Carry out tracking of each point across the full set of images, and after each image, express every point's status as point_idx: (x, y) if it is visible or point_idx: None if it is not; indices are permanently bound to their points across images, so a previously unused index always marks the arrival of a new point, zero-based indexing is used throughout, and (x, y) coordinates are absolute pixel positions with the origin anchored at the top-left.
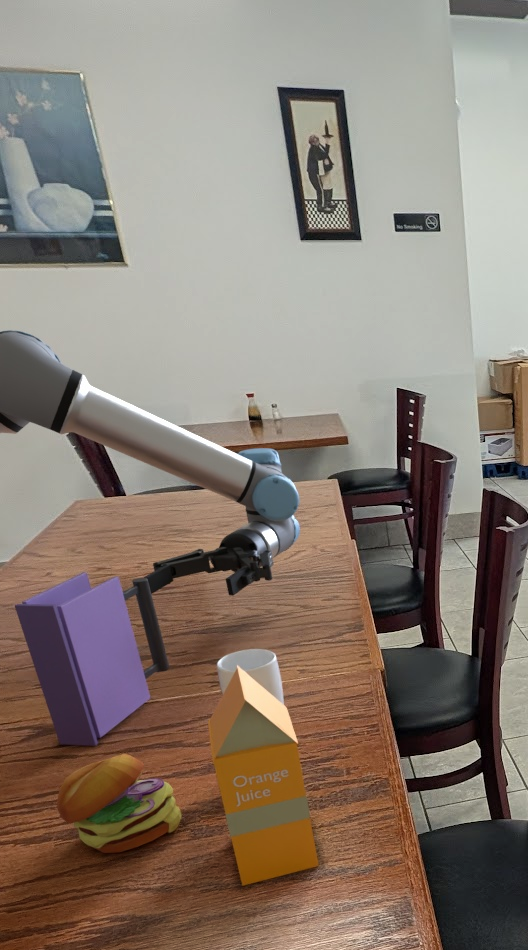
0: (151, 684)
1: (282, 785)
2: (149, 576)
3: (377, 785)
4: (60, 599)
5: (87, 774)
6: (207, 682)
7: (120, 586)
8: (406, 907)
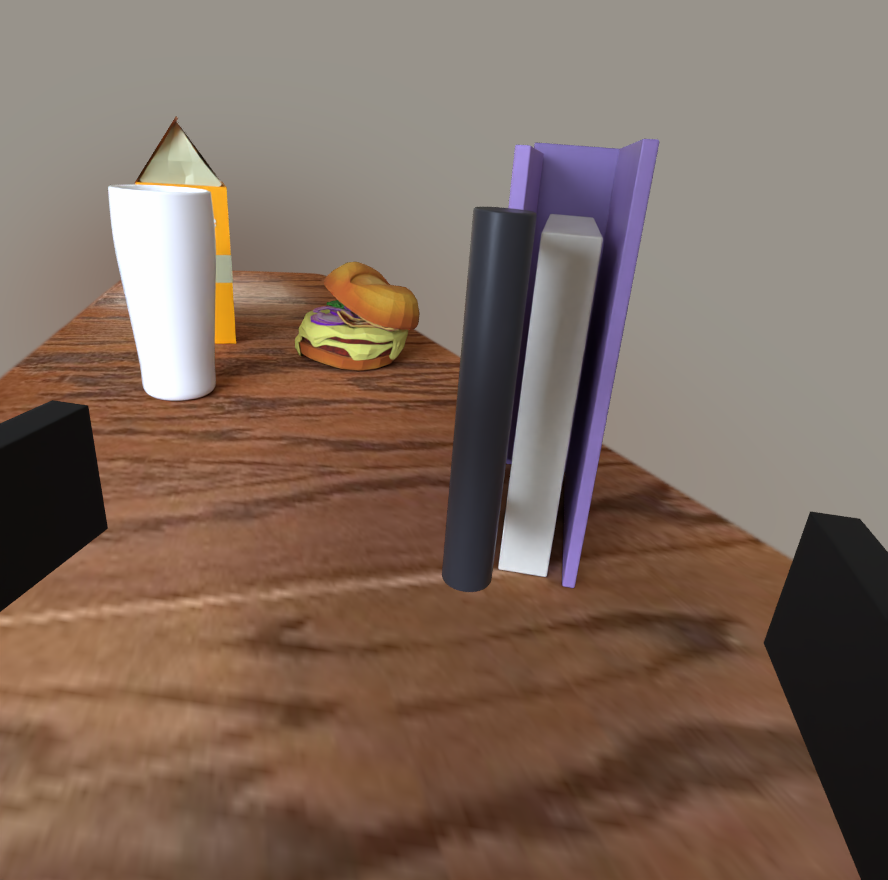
0: (531, 665)
1: None
2: (823, 528)
3: (37, 361)
4: (621, 185)
5: (385, 284)
6: (322, 650)
7: (511, 183)
8: (100, 302)
